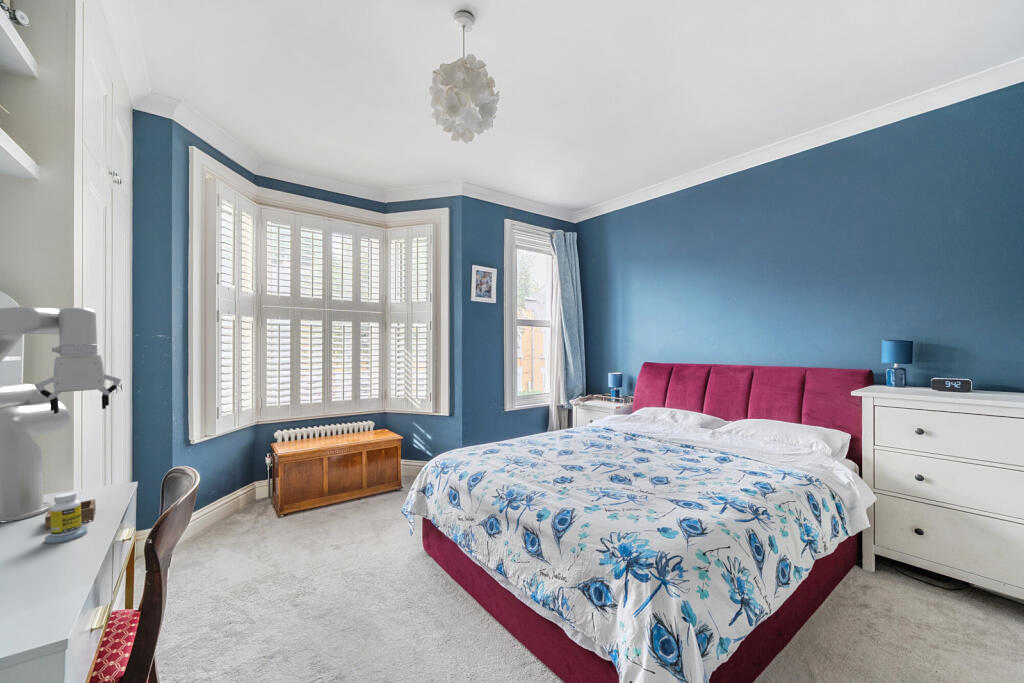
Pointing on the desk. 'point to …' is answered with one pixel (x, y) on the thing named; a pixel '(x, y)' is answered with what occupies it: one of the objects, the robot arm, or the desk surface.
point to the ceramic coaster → (60, 539)
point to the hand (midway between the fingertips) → (80, 410)
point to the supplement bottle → (65, 514)
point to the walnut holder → (86, 513)
